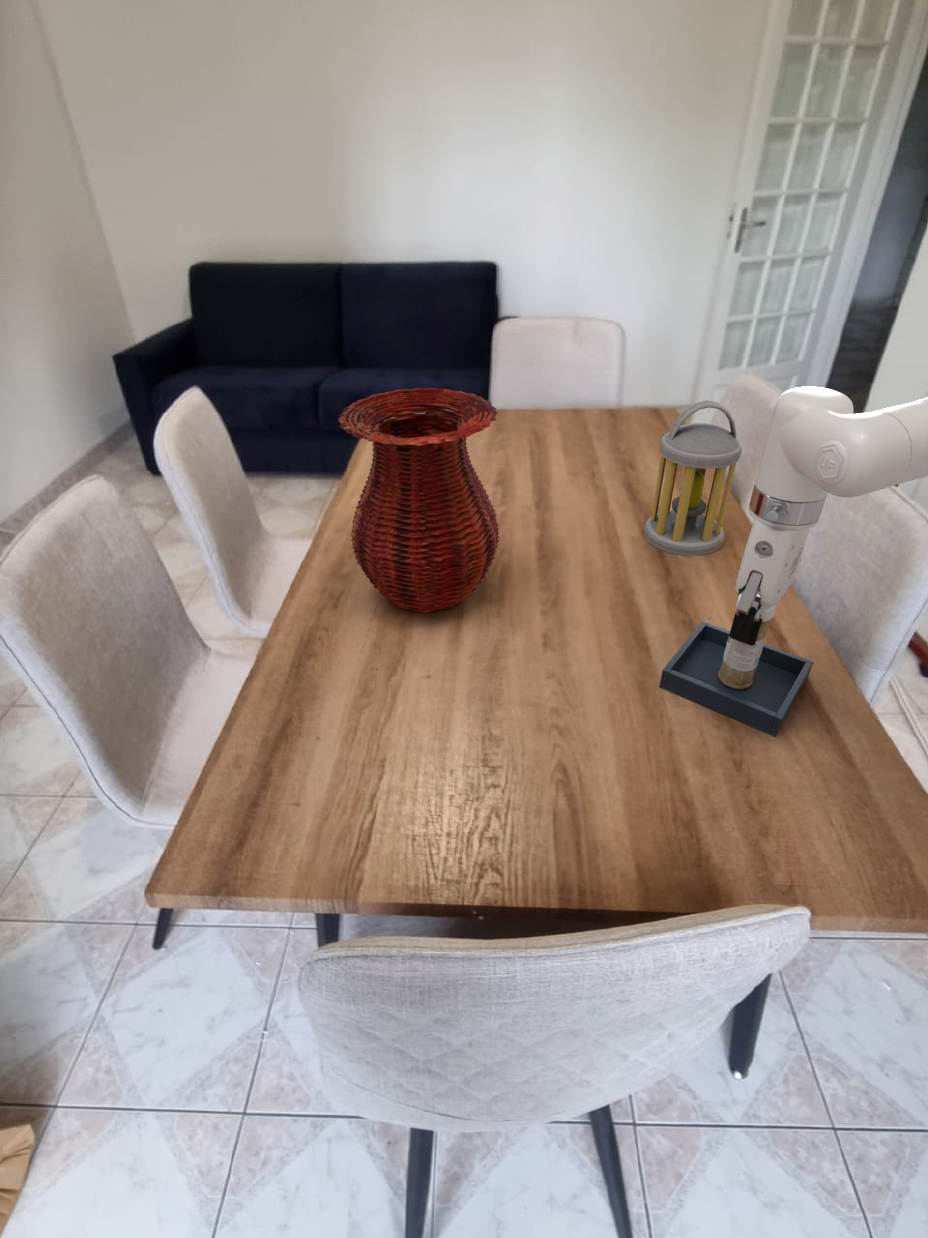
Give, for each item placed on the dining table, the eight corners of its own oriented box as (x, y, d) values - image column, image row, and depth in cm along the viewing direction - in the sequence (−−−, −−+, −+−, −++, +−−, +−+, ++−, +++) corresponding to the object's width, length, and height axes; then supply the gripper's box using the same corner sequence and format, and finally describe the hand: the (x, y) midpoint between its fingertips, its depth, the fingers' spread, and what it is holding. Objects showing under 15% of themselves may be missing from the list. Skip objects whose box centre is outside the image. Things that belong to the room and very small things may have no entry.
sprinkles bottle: (729, 664, 95) (751, 584, 87) (759, 681, 92) (784, 600, 84) (710, 678, 93) (731, 598, 85) (740, 696, 90) (764, 614, 82)
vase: (350, 563, 120) (326, 394, 102) (478, 544, 124) (476, 379, 106) (368, 642, 102) (343, 453, 84) (517, 616, 106) (523, 432, 88)
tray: (807, 678, 93) (813, 661, 91) (775, 737, 84) (781, 719, 83) (698, 637, 101) (702, 620, 99) (659, 687, 92) (662, 669, 90)
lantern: (711, 517, 130) (740, 387, 115) (732, 555, 119) (767, 416, 104) (637, 517, 131) (656, 388, 116) (651, 555, 120) (674, 417, 105)
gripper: (797, 543, 69) (756, 677, 80) (841, 484, 80) (799, 609, 91) (725, 522, 73) (695, 653, 84) (776, 469, 83) (743, 590, 94)
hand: (749, 629), depth 87 cm, fingers closed on sprinkles bottle, 4 cm apart
